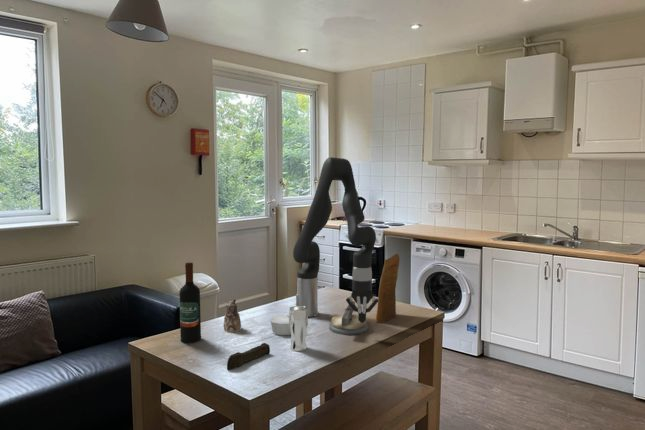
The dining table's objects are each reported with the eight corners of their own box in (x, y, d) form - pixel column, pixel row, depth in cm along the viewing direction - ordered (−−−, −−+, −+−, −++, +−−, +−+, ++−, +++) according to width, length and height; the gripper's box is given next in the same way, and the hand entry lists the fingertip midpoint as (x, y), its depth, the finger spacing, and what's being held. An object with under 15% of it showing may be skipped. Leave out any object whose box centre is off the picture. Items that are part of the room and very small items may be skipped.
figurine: (219, 330, 197) (219, 301, 196) (230, 325, 204) (230, 297, 202) (233, 333, 194) (233, 303, 193) (244, 327, 200) (244, 299, 199)
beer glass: (305, 352, 173) (305, 311, 172) (286, 351, 174) (286, 310, 173) (309, 345, 180) (309, 306, 179) (291, 344, 181) (291, 305, 180)
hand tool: (262, 352, 174) (262, 339, 174) (270, 354, 172) (270, 342, 171) (221, 369, 159) (221, 355, 159) (229, 372, 157) (229, 358, 156)
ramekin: (303, 331, 196) (303, 319, 195) (283, 338, 188) (283, 325, 187) (285, 325, 204) (285, 313, 203) (264, 332, 195) (264, 319, 195)
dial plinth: (326, 333, 193) (326, 329, 193) (332, 321, 209) (332, 317, 209) (365, 335, 190) (365, 331, 190) (369, 323, 206) (369, 319, 206)
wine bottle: (204, 337, 188) (203, 261, 186) (193, 344, 181) (191, 265, 179) (188, 335, 191) (186, 260, 188) (176, 341, 184) (174, 264, 181)
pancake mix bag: (403, 314, 219) (404, 253, 217) (384, 325, 204) (385, 260, 201) (390, 312, 223) (391, 252, 221) (370, 322, 207) (371, 258, 205)
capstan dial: (326, 332, 189) (326, 317, 188) (336, 314, 213) (336, 300, 213) (362, 335, 186) (362, 319, 186) (368, 316, 211) (368, 302, 210)
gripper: (380, 276, 189) (379, 320, 190) (346, 275, 191) (346, 318, 193) (378, 280, 181) (378, 325, 183) (343, 279, 184) (344, 324, 185)
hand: (362, 322), depth 188 cm, fingers closed
